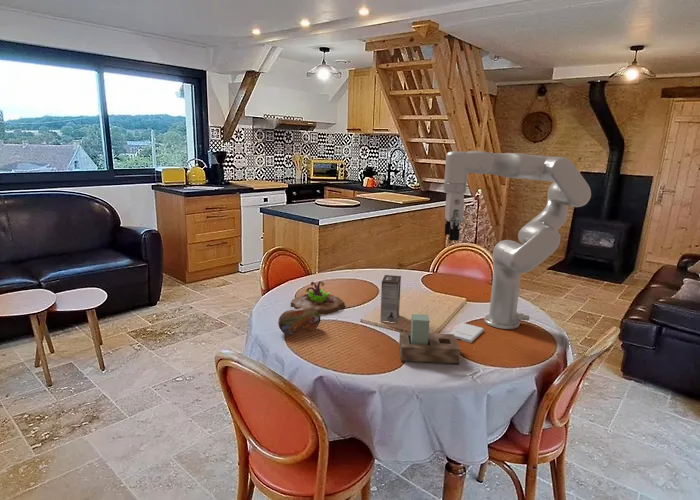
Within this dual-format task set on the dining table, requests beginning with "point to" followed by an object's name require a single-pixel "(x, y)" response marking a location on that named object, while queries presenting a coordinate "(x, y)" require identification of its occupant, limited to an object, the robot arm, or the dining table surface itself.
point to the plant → (318, 300)
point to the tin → (299, 321)
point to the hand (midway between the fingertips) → (451, 237)
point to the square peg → (419, 329)
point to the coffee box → (390, 298)
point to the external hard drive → (467, 332)
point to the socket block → (430, 349)
